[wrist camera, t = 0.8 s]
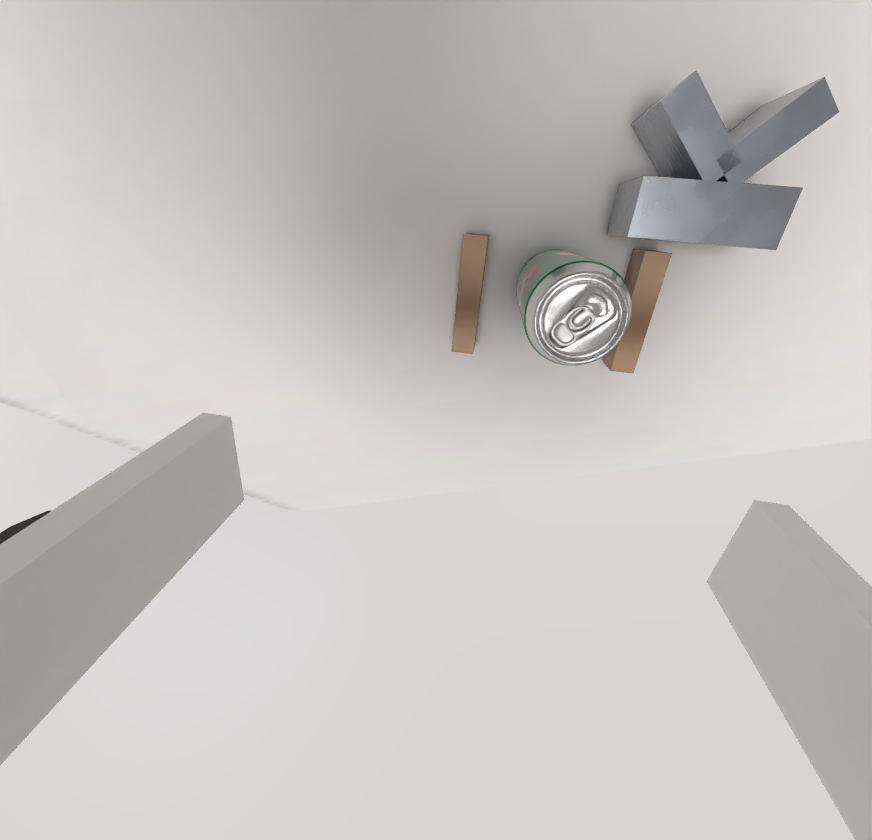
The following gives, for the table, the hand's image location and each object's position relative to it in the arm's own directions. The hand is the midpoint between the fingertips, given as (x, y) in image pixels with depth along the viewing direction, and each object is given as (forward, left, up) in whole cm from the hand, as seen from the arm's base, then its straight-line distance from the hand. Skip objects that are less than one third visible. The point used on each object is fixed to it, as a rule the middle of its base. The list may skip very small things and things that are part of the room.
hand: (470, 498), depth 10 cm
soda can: (-3, +4, -23) cm, 24 cm away
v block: (-13, +11, -23) cm, 28 cm away
